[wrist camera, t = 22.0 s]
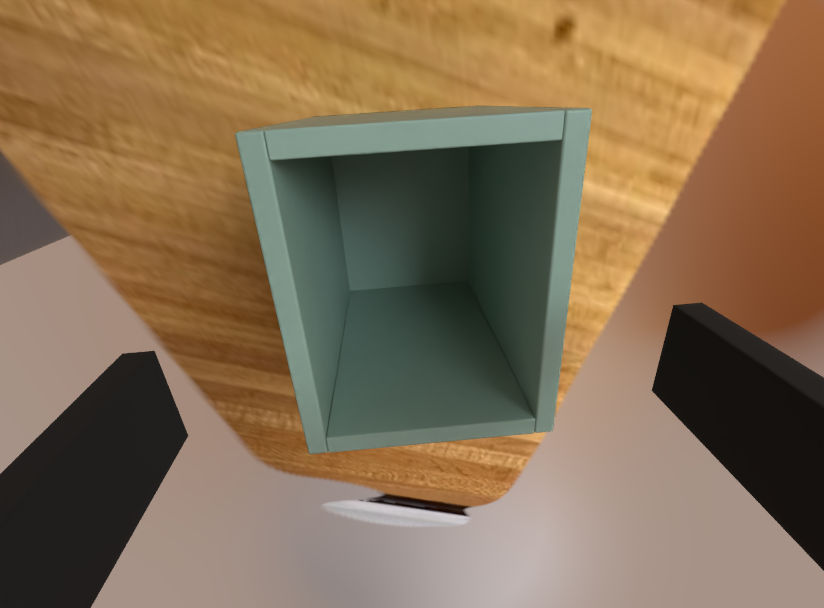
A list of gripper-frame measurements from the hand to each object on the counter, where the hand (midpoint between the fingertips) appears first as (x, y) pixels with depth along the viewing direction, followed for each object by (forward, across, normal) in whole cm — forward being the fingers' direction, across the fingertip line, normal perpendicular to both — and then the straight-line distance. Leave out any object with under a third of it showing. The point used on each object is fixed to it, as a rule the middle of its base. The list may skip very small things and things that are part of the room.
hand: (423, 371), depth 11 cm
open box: (+11, 0, 0) cm, 11 cm away
